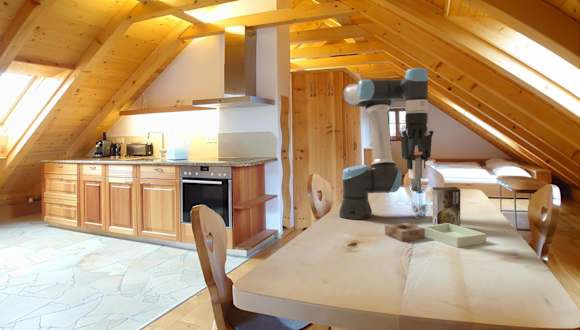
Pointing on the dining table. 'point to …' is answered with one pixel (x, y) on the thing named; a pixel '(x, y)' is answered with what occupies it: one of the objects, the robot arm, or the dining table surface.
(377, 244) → the dining table surface
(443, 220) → the coffee box
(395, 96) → the robot arm
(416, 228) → the socket block
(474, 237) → the tray
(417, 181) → the pin
